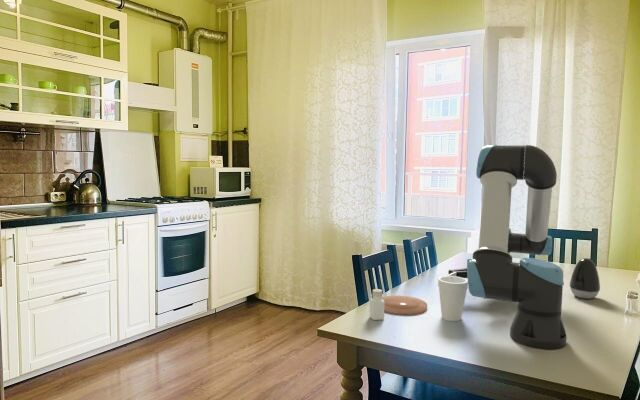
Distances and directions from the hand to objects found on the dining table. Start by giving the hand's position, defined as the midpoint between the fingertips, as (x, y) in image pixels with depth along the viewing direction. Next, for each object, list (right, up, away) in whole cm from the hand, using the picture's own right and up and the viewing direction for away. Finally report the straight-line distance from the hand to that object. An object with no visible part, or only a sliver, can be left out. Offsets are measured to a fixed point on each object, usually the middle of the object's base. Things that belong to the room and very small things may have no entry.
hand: (465, 283), depth 162 cm
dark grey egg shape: (+52, -9, +19) cm, 56 cm away
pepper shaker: (-32, -10, -8) cm, 34 cm away
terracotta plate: (-21, -9, +5) cm, 24 cm away
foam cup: (-7, -11, -7) cm, 14 cm away
